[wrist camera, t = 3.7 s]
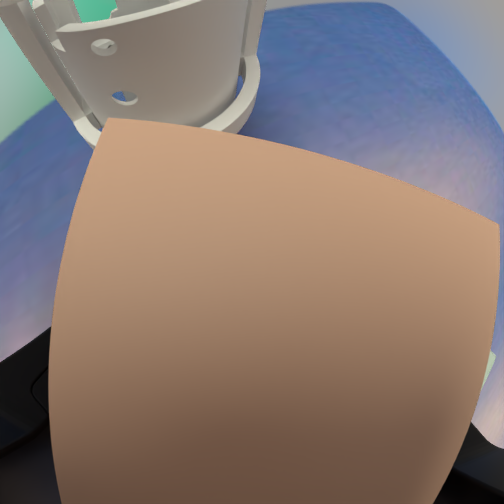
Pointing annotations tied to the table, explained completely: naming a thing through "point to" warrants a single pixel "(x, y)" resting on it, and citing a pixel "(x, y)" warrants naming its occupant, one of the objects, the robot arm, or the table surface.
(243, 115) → the white flanged cylinder housing
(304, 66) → the table surface
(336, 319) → the block
